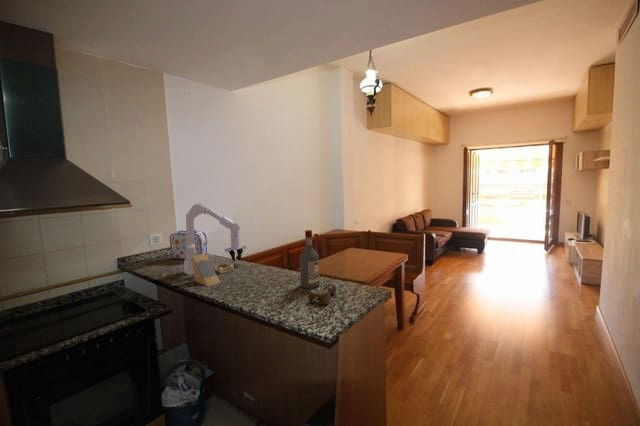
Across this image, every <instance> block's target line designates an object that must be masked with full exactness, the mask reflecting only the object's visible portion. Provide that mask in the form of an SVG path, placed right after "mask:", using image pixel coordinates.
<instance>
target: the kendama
mask: <svg viewBox="0 0 640 426" xmlns="http://www.w3.org/2000/svg"><path fill="white" fill-rule="evenodd" d="M336 292H337V287H336V285H335V284H333V283H328V284H327V285H326V286H325V287H324V288H323V291H322V292H321V293H320V292H319V293H318V292H316V291H315V289H311V290H309V291H308V293H307V300H308V302H310V303H311V302H312V303H313V302H316V301H317V302H318V301H319V302H322V303H323V304H324V305H325V306H327V305H329V303H330V302H331V295H332V293H334V294H335V293H336ZM326 304H327V305H326Z"/></svg>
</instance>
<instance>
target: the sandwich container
mask: <svg viewBox="0 0 640 426" xmlns="http://www.w3.org/2000/svg"><path fill="white" fill-rule="evenodd" d="M192 259H193V270H194V274H193V278H194V282H197V283H198V284H201V285H204V286H205V287H209V286H213V285H216V284H219V283H221V280H220V278H219V277H218V275H217V273H216V272H215V269H214V267H213V266H212V263H211V261H210V259H209V257H208V255H207V254H206V253H205V254H200V255H195V256H192Z"/></svg>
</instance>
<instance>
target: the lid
mask: <svg viewBox="0 0 640 426" xmlns="http://www.w3.org/2000/svg"><path fill="white" fill-rule="evenodd" d="M233 266H234V268H240V263H239V262H233Z"/></svg>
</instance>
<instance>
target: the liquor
mask: <svg viewBox="0 0 640 426" xmlns="http://www.w3.org/2000/svg"><path fill="white" fill-rule="evenodd" d="M304 237H305V247H304V250H303V251H302V252H301V253H300V254H299V274H300V276H299V277H300V278H299V279H300V280H299V281H300V286H301V287H302V288H305V287H306V289H314V287H315V288H317V287H319V286H318V285H320V284H321V282H320V281H321V280H320V255H319V253H318V252H317V251H316V250H315V249H314V247H313V230H312V229H311V230H309V229H307V230H305V231H304ZM316 286H317V287H316Z"/></svg>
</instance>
